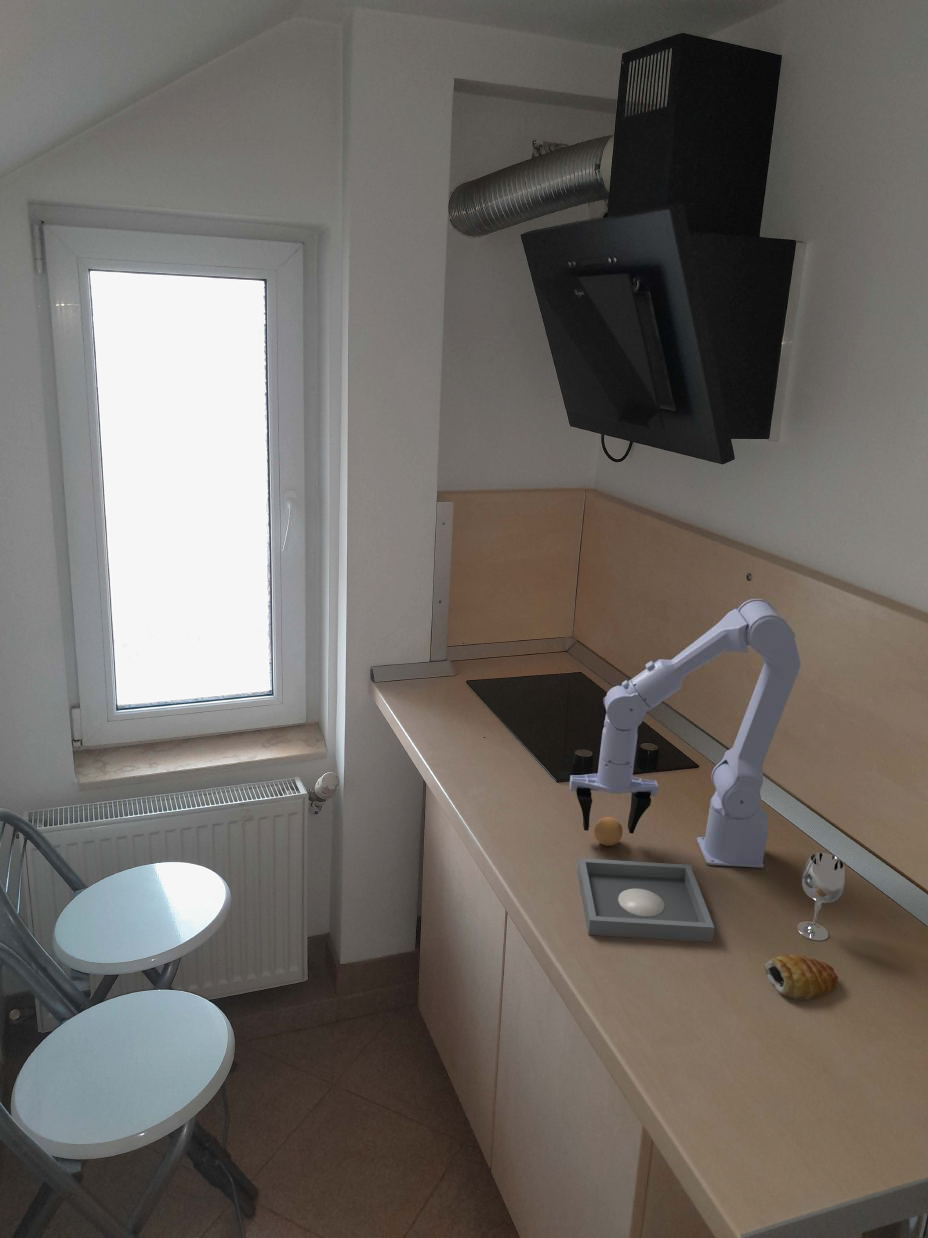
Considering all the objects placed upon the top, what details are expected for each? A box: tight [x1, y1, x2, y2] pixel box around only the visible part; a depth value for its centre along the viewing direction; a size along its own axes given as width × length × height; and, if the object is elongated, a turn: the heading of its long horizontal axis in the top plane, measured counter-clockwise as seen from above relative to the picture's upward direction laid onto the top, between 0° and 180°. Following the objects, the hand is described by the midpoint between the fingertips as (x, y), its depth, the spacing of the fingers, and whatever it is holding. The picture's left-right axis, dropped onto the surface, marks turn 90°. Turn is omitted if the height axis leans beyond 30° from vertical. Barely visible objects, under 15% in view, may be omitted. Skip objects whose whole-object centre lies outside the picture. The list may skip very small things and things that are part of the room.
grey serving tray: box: [576, 857, 716, 943], centre depth 138 cm, size 18×16×2 cm
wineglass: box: [796, 852, 846, 942], centre depth 133 cm, size 6×6×12 cm
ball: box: [593, 816, 624, 847], centre depth 154 cm, size 5×5×5 cm
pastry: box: [764, 953, 839, 1001], centre depth 123 cm, size 9×7×4 cm
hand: (608, 829), depth 154 cm, fingers open, 7 cm apart
